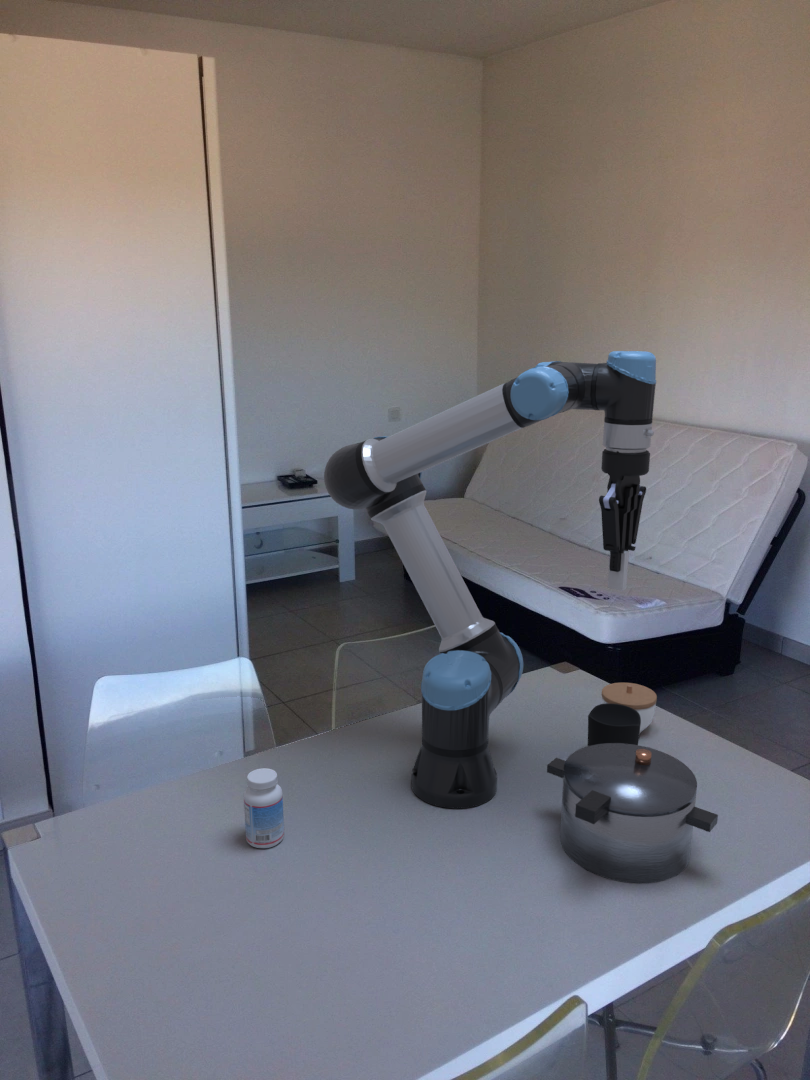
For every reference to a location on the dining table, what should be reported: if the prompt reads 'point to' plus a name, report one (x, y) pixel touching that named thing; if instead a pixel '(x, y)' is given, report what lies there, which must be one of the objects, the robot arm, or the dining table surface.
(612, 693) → the lidded jar
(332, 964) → the dining table surface
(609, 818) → the cooking pot
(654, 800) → the pot lid
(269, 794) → the pill bottle
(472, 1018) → the dining table surface
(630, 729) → the pen holder
